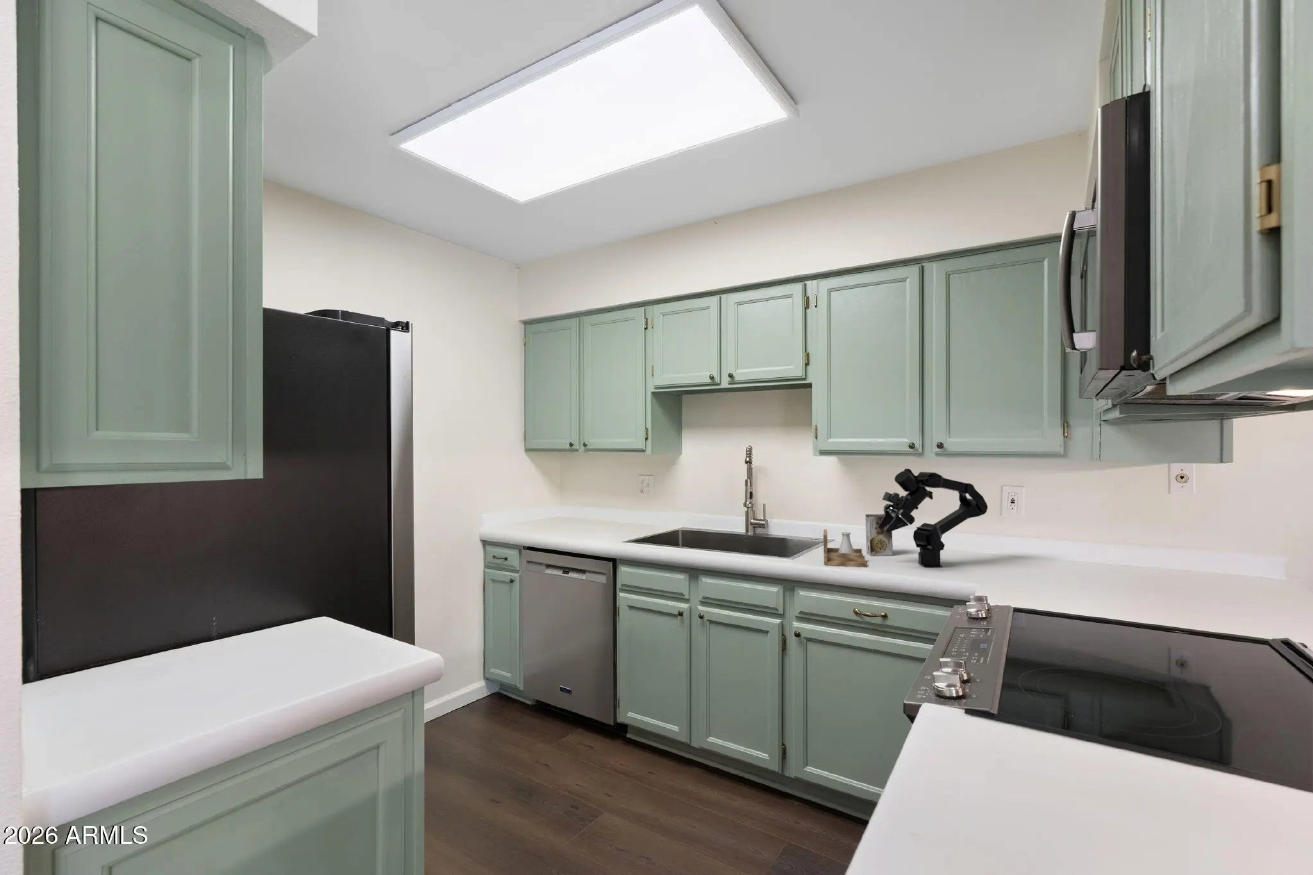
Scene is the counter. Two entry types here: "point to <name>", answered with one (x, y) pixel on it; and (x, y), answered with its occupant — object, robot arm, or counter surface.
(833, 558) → the spice stand
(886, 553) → the coffee box
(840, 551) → the flask
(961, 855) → the counter surface
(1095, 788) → the counter surface
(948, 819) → the counter surface
